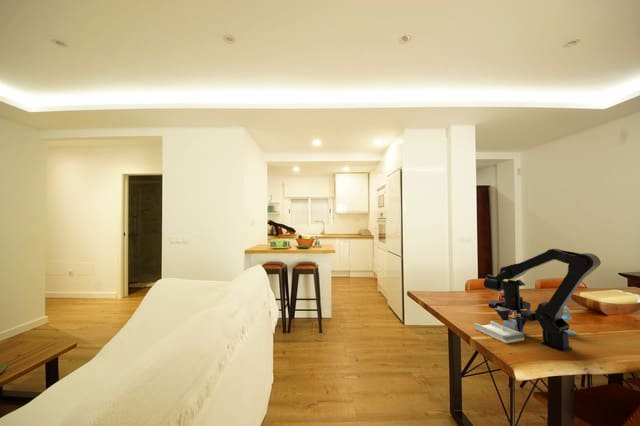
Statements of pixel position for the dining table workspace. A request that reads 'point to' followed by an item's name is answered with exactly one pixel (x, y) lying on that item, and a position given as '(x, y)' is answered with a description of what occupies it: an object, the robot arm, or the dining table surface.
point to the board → (500, 332)
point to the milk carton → (511, 314)
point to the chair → (568, 319)
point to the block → (512, 325)
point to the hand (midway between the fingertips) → (513, 329)
